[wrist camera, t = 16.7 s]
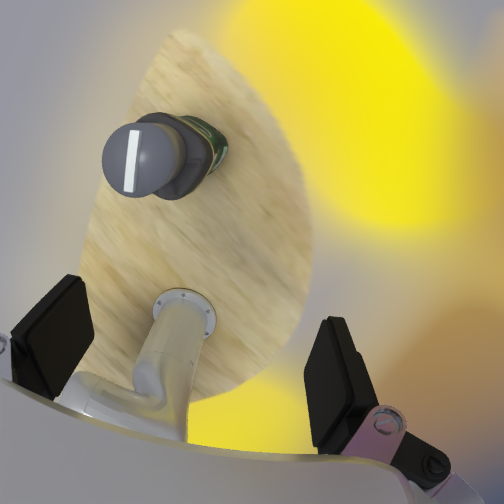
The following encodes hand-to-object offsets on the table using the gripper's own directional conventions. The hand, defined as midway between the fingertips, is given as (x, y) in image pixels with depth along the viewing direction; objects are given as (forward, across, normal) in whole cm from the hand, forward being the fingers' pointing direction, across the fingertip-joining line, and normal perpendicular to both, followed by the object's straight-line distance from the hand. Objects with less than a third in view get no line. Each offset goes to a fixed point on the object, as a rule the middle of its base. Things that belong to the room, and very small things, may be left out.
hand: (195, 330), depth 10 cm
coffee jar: (+36, +8, -4) cm, 38 cm away
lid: (+18, +8, -4) cm, 20 cm away
